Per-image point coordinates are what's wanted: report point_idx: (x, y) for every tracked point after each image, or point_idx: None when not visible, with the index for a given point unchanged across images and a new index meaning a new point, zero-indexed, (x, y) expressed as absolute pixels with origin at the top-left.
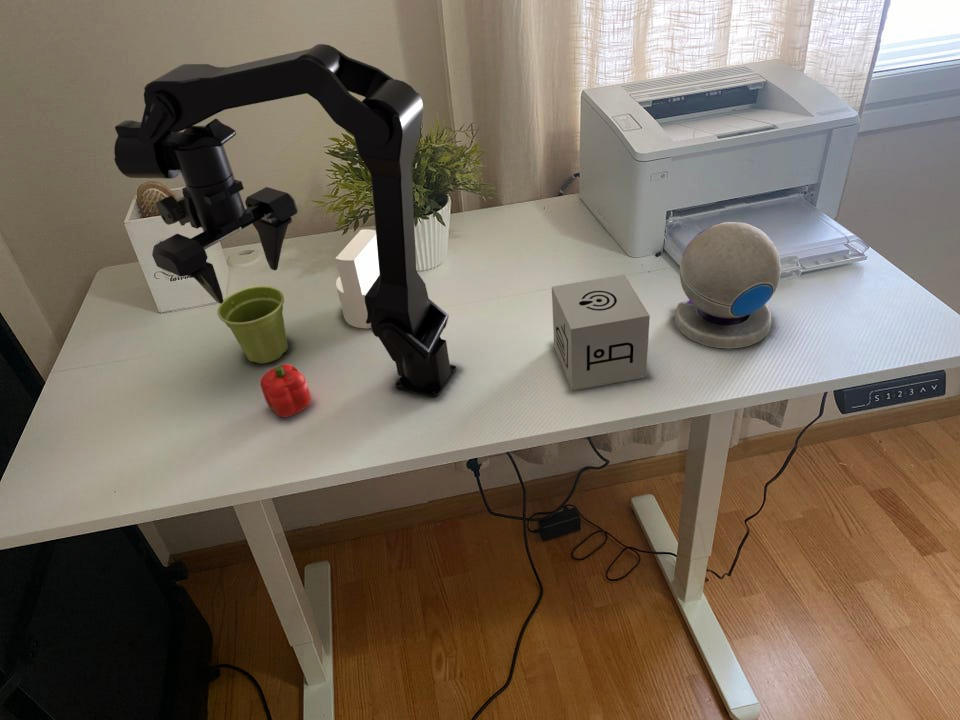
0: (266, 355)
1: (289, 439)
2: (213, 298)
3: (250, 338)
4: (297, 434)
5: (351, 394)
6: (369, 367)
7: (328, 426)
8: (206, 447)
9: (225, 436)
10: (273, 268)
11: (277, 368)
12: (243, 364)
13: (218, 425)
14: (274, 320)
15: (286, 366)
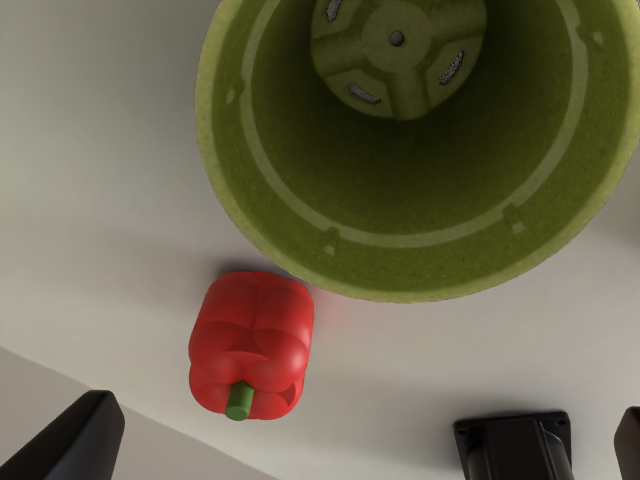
0: (344, 124)
1: None
2: (62, 414)
3: (297, 164)
4: None
5: (385, 369)
6: (493, 347)
7: None
8: (27, 244)
9: (82, 252)
10: (621, 448)
11: (234, 413)
12: None
13: (79, 207)
14: (413, 250)
15: (274, 388)
